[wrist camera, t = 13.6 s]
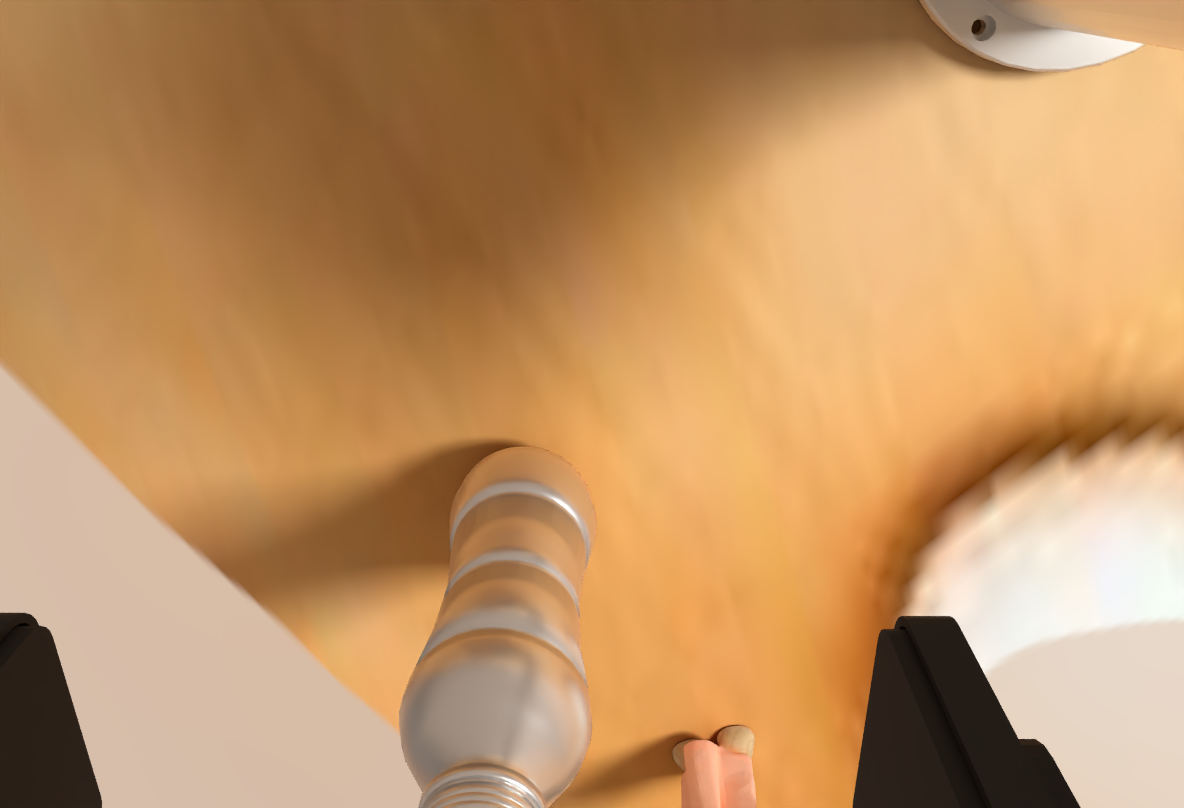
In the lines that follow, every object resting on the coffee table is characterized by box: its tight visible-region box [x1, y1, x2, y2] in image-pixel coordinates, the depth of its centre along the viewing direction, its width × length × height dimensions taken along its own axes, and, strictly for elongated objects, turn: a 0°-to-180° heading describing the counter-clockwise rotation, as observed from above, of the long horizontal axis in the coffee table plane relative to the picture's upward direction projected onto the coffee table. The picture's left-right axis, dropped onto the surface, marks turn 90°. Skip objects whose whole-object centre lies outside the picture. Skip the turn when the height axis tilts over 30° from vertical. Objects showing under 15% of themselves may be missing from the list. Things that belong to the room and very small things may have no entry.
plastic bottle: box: [399, 446, 597, 808], centre depth 36 cm, size 6×7×20 cm
